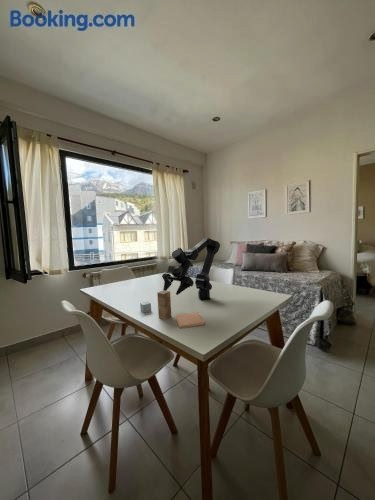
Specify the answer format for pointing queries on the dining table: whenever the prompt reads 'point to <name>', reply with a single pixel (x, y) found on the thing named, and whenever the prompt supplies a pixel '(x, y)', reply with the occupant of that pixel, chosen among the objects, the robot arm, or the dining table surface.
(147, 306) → the blue-grey cube
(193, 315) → the terracotta tile
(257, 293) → the dining table surface
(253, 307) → the dining table surface
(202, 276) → the robot arm
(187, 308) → the dining table surface
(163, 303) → the walnut block
